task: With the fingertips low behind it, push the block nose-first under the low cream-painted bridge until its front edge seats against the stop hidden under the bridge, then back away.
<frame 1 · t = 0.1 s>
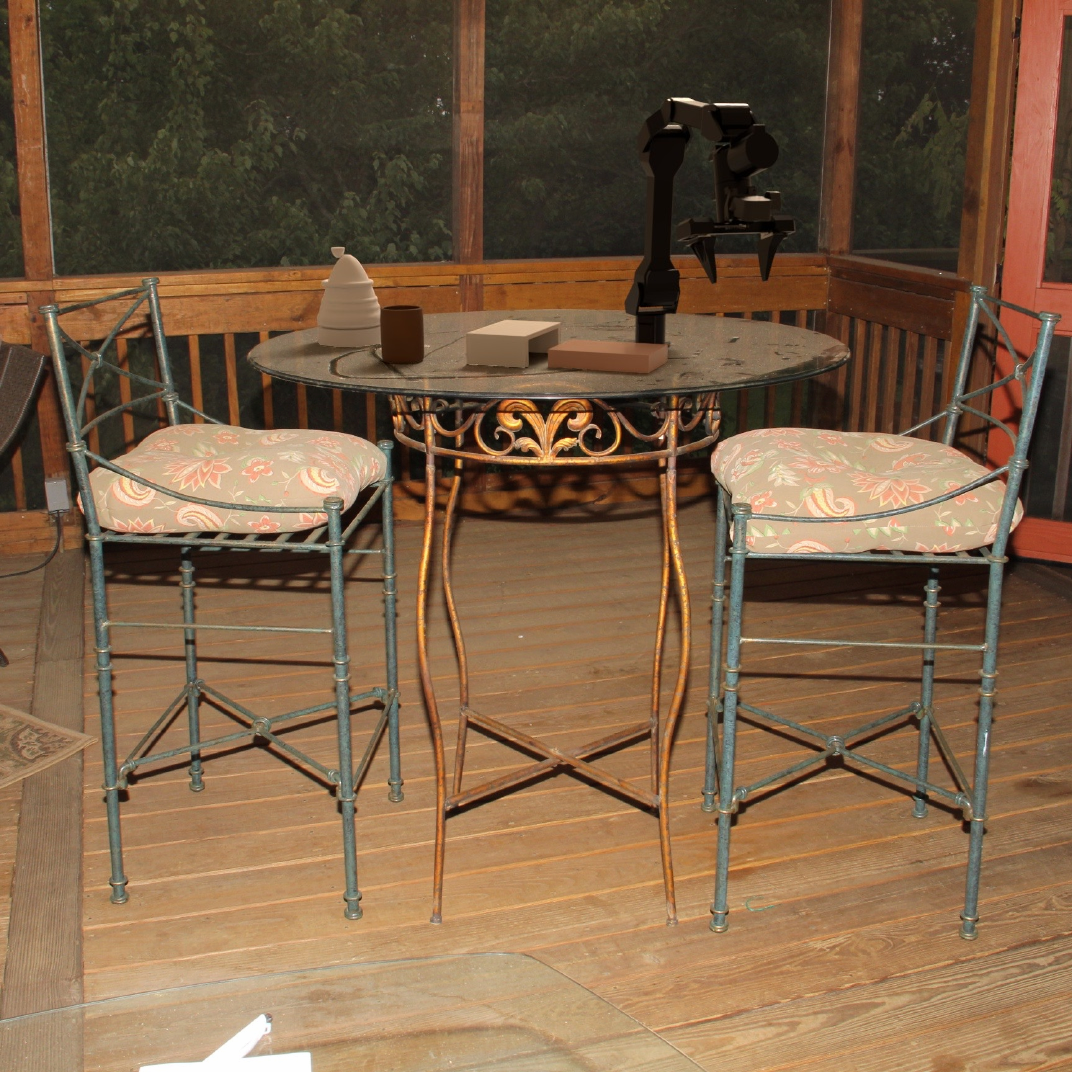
hand: (739, 282, 204), 15 cm above the table, tool pointing down, fingers open, 9 cm apart
honey pot: (351, 343, 246), on the table
mug: (402, 360, 228), on the table
bridge: (515, 358, 227), on the table
block: (608, 367, 221), on the table
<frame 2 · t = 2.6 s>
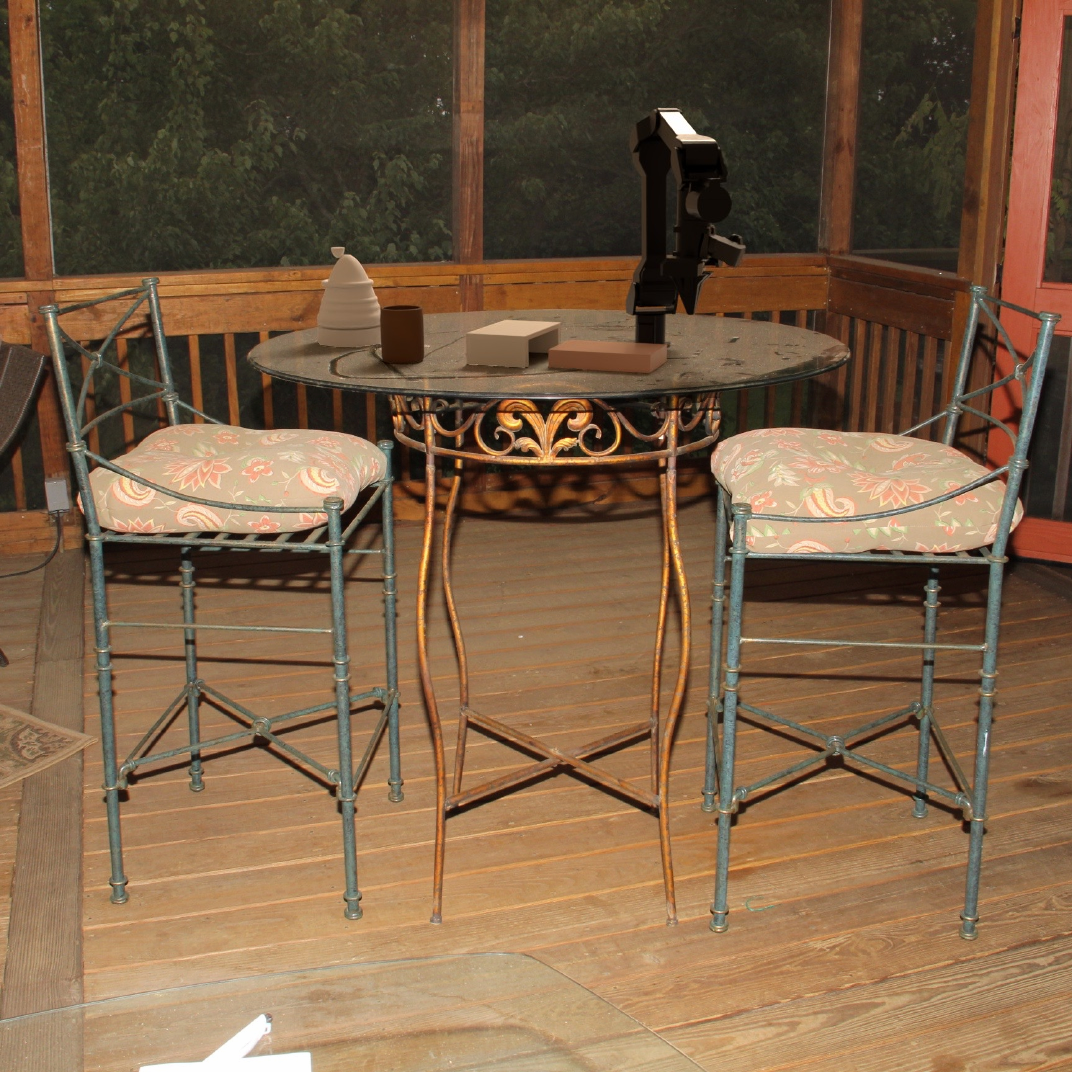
hand: (690, 314, 214), 9 cm above the table, tool pointing down, fingers closed
nothing on the table moved.
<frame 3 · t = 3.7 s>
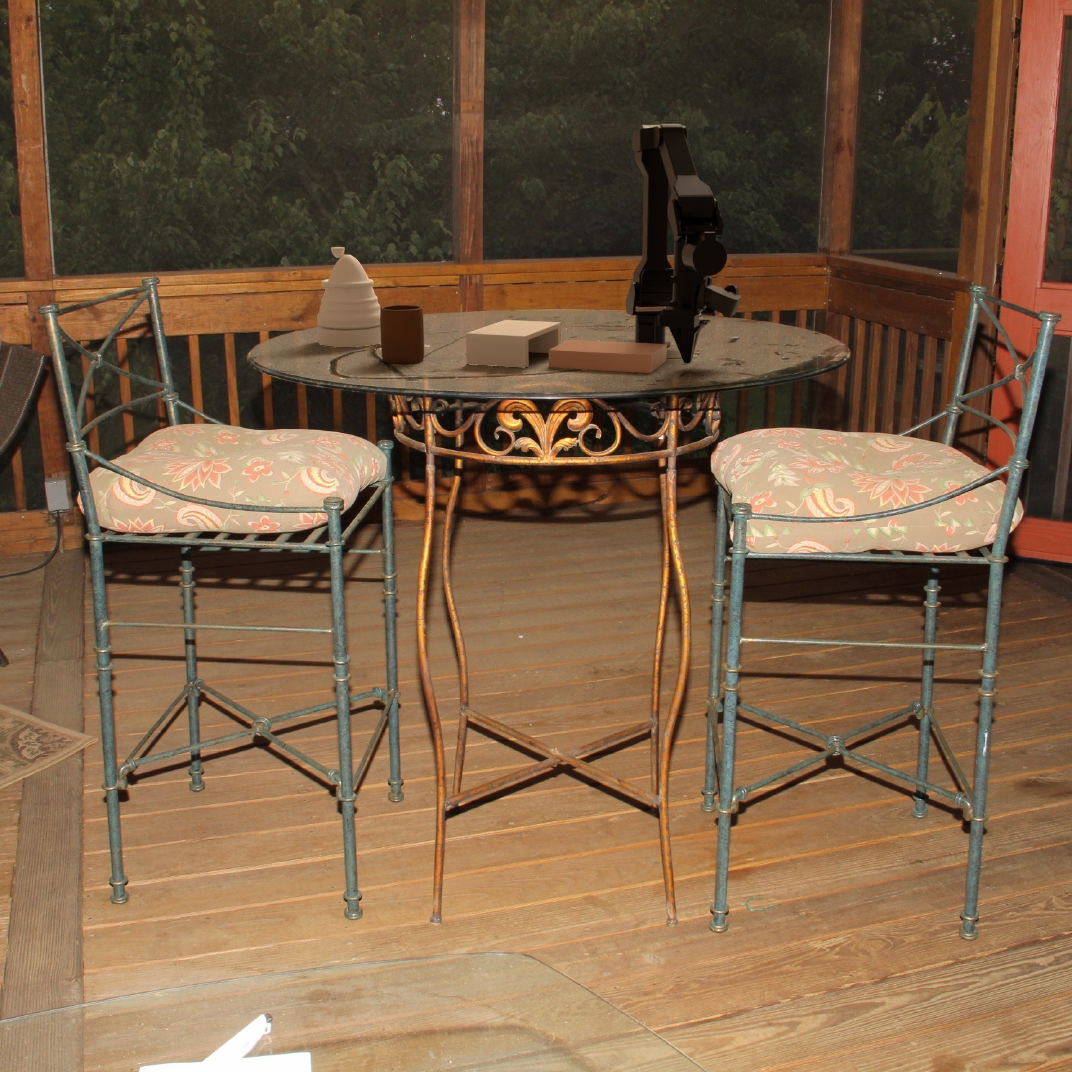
hand: (687, 363, 216), 1 cm above the table, tool pointing down, fingers closed
nothing on the table moved.
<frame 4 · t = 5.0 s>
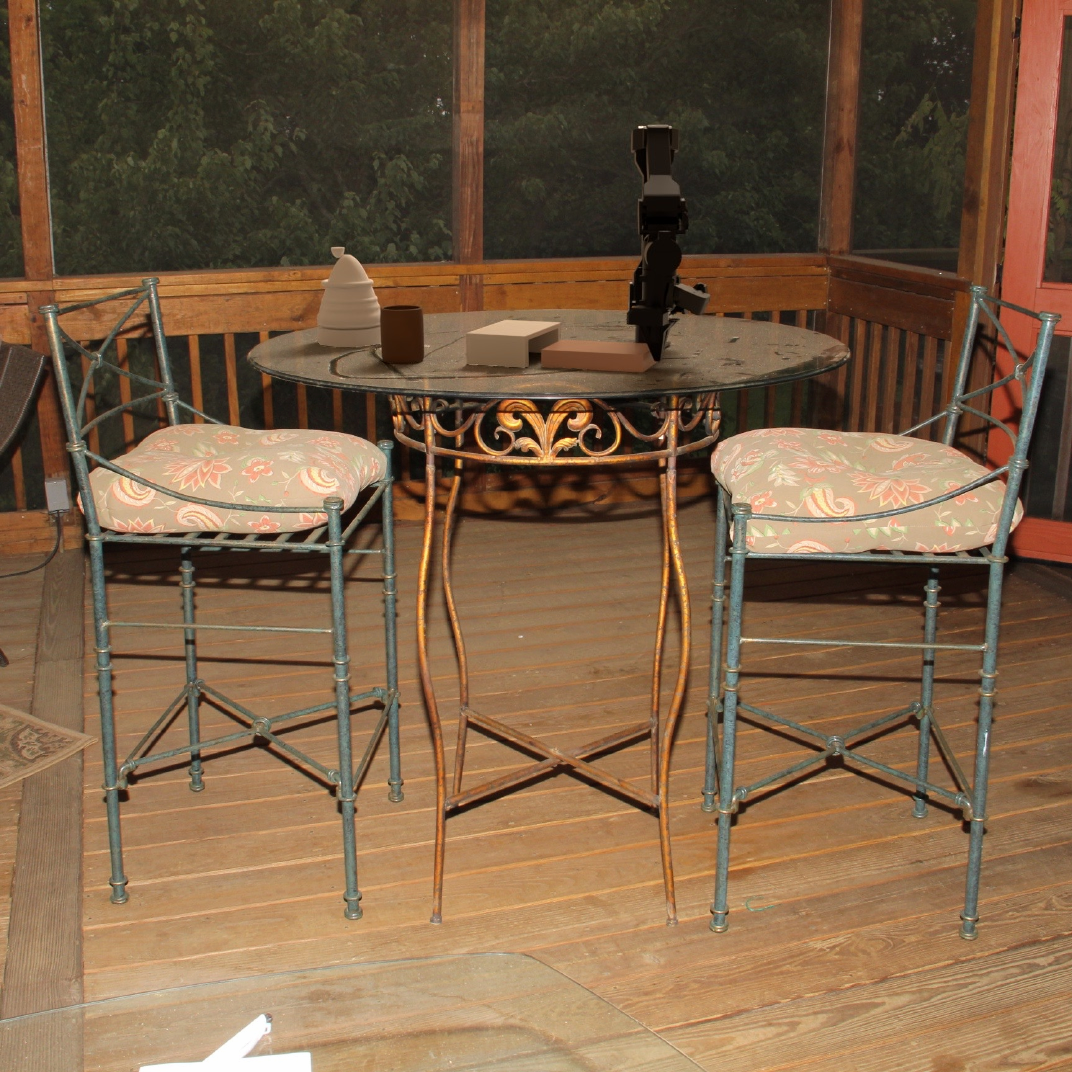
hand: (657, 361, 218), 1 cm above the table, tool pointing down, fingers closed
block: (600, 366, 222), on the table
everything else where it was.
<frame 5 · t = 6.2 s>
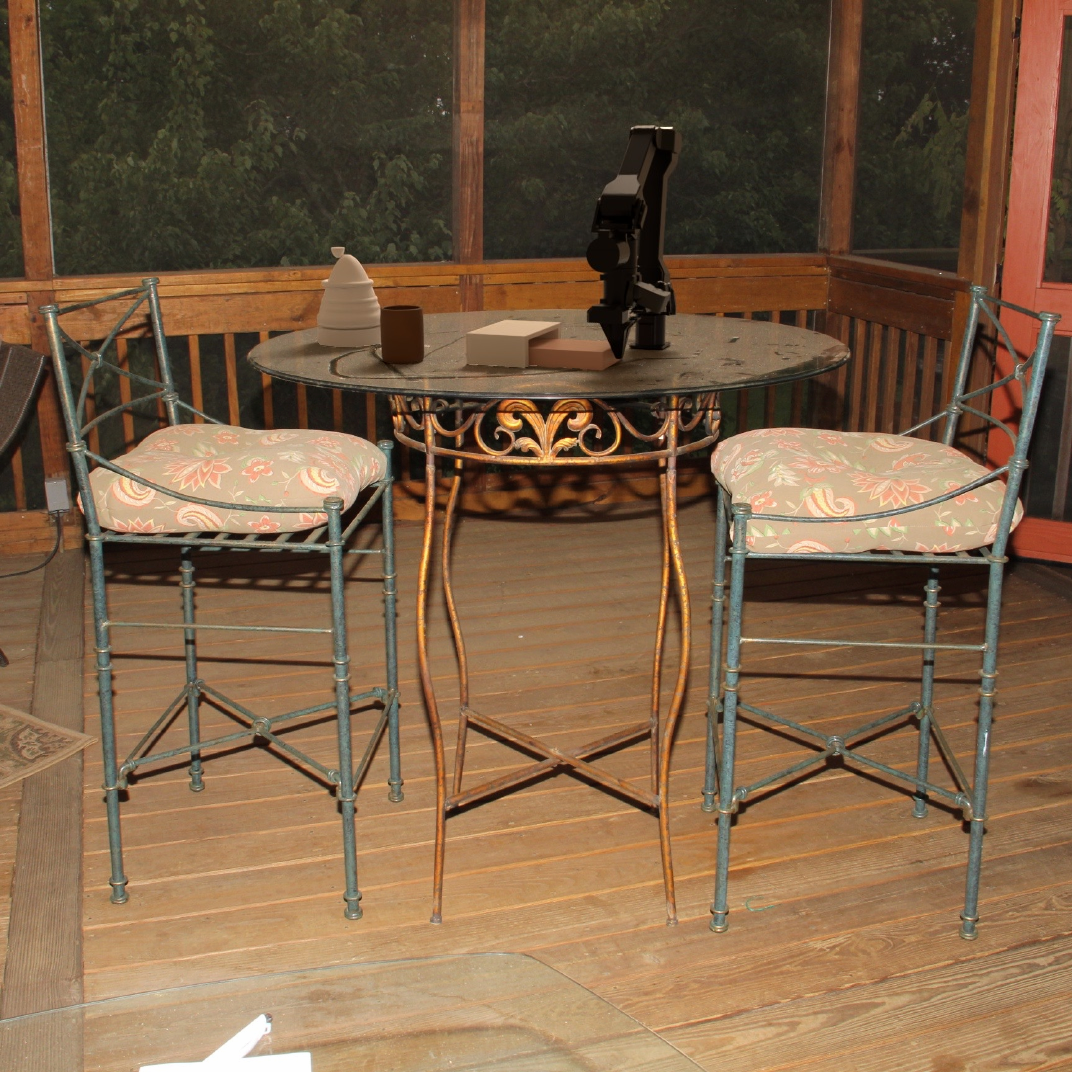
hand: (619, 358, 220), 1 cm above the table, tool pointing down, fingers closed
block: (563, 364, 224), on the table
everything else where it was.
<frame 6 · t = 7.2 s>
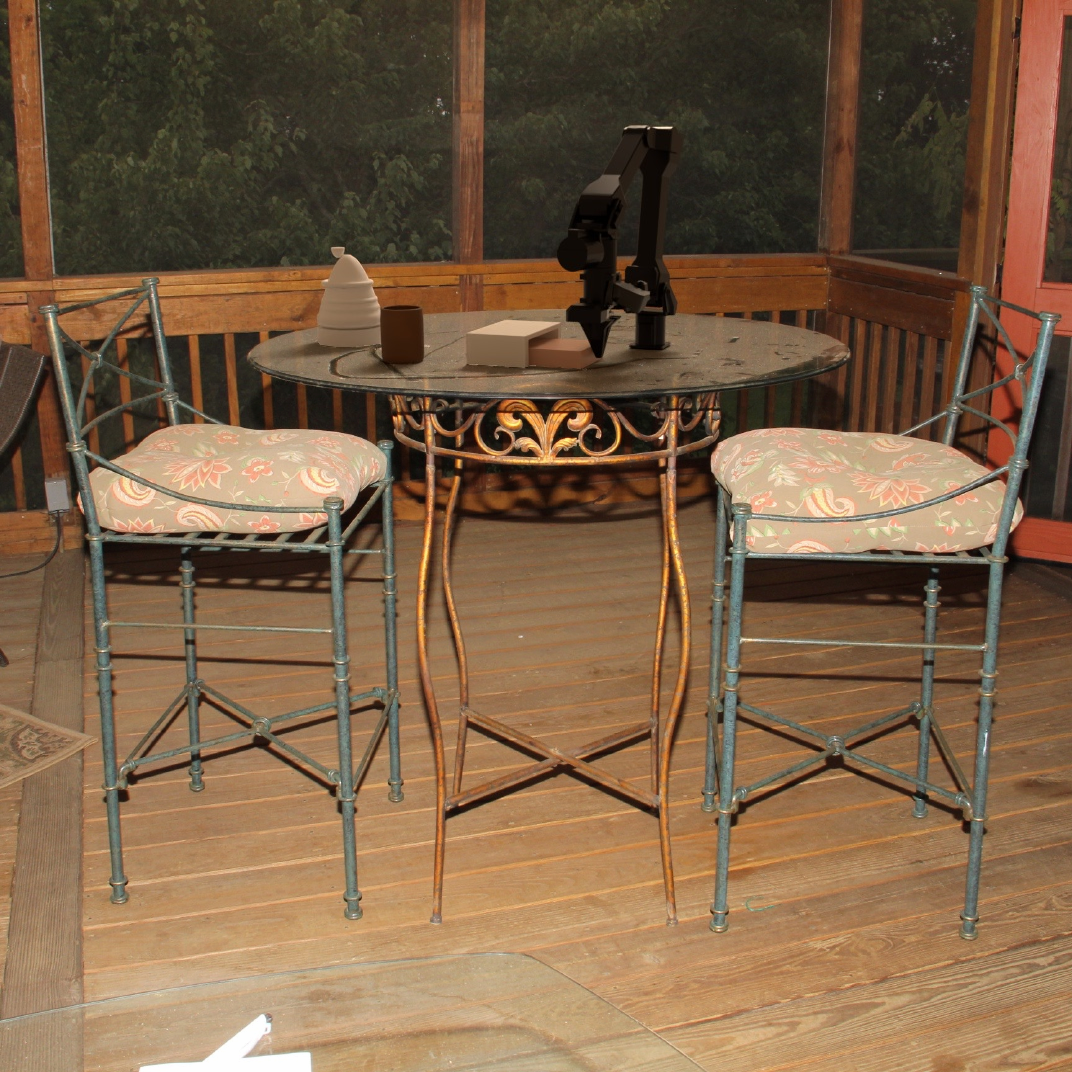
hand: (599, 357, 221), 1 cm above the table, tool pointing down, fingers closed
block: (543, 362, 225), on the table
everything else where it was.
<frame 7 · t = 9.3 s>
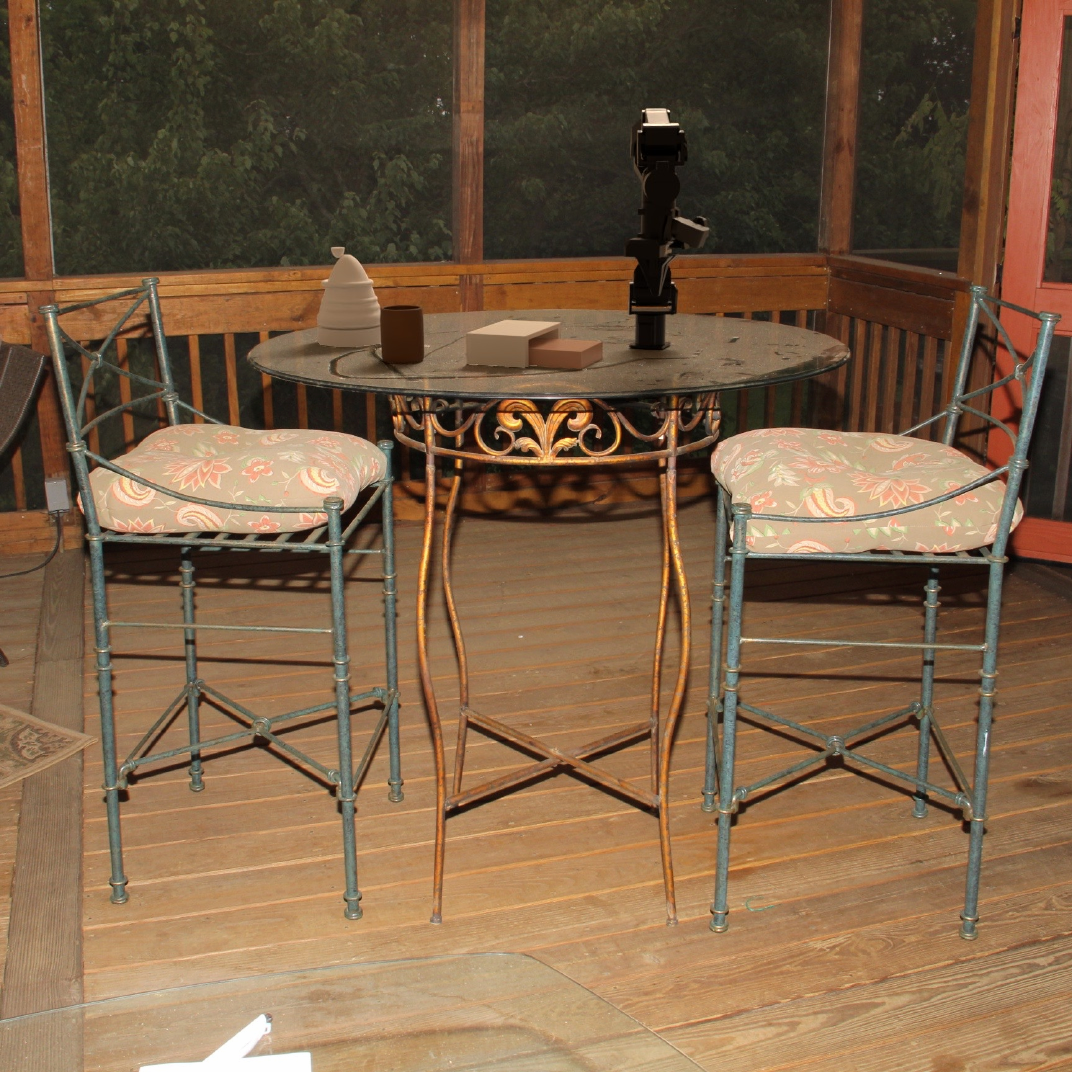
hand: (656, 295, 217), 12 cm above the table, tool pointing down, fingers closed
nothing on the table moved.
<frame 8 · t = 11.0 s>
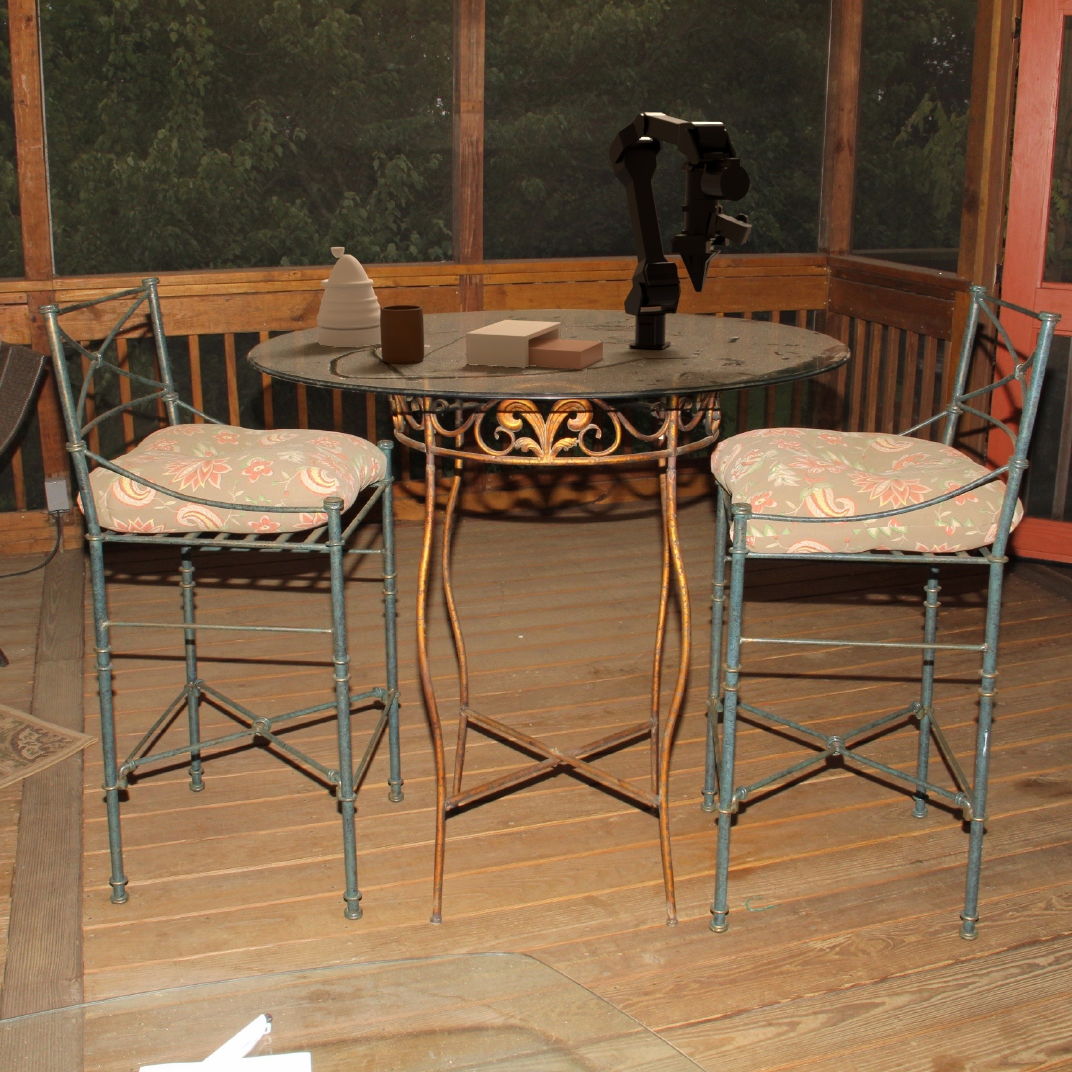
hand: (698, 291, 221), 12 cm above the table, tool pointing down, fingers closed
nothing on the table moved.
at the end: block 0.7 cm from the target spot on the bridge, point -0.5 cm above the bridge's base; block moved 11.9 cm from its start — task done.
